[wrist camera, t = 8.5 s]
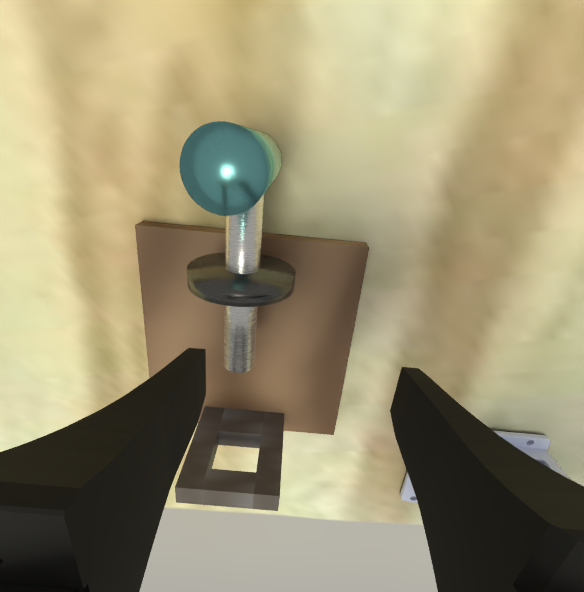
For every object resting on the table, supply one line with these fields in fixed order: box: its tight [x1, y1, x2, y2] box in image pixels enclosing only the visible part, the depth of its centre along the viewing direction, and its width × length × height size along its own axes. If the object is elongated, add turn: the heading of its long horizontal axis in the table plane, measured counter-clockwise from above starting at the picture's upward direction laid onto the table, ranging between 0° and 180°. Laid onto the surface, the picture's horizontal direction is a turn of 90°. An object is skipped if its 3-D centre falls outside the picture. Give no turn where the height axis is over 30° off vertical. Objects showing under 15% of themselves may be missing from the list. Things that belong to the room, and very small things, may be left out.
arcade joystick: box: [180, 122, 296, 373], centre depth 15 cm, size 5×11×8 cm, turn 175°
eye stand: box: [135, 221, 369, 511], centre depth 19 cm, size 13×14×7 cm
